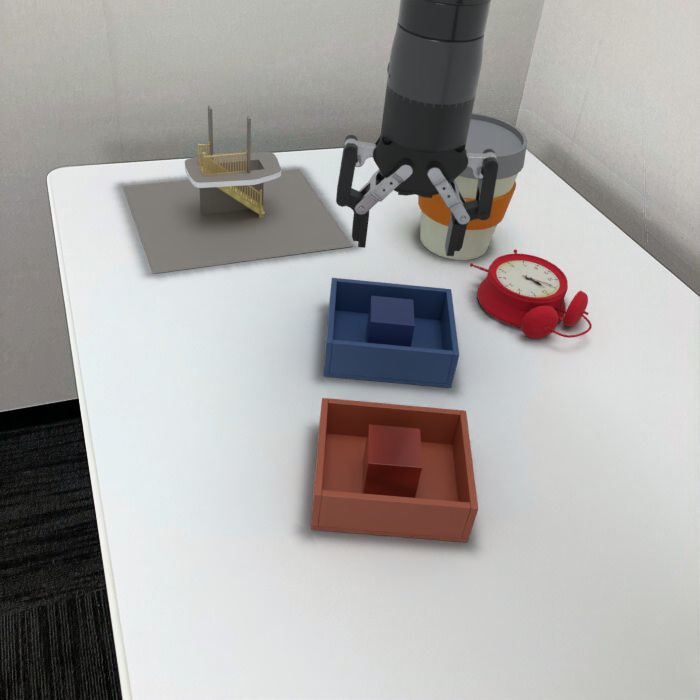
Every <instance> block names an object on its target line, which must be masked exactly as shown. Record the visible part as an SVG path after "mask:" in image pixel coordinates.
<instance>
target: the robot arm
mask: <svg viewBox="0 0 700 700" xmlns="http://www.w3.org/2000/svg"><path fill="white" fill-rule="evenodd" d="M491 4H492V0H399V7H398V16H397V23H396V28H395V32H394V37H393V40H392V45H391V50H390V55H389V61H388V64H387V69H386V70H387V79H386V87H385V95H384V102H383V103H384V104H383V112H382V118H381V128H380V135H379V137H378V139H377V140H376V142H375V143H373V142H366V141H361V140H359V139H358V137H357V136H356V135H354V134H349V135H347V136H345V138H344V141H343V149H342V154H341V160H340V167H339V173H338V174H339V175H338V180H337V188H336V197H335V203H336V204H337V205H338V206H339V207H341V208H344V207H348V208H349V209H350V210H352V211H353V216H352V228H351V239H352V241H353V242H357V248H366V245H367V238H368V237H367V236H368V229H369V220H370V210H371V209H373V207H374V206H376V204H377V203H379V202H383V200H385V199H386V198H387V197H388V196H389V195H390V194H391V193H392V192H393V191H394V192H395V193H397V195H398V196H406V197H407V196H414V195H416V196H418V195H419V196H422V197H426V198H432V196H434V195H437V194H440V196H441V197H442V199H443V201H444V202H445V204H446V206H447V207H448V208H449V209H450V210H451V217H450V222H449V227H448V232H447V237H446V242H445V252H446V256H454V252H455V251H460V250H461V248H462V246H463V241H464V237H465V232H466V227H467V224H468V223H469V222H470V221H471V220H474V219H480V220H487V219H488V218H489V217H490V215H491V209H492V203H493V197H494V191H495V184H496V178H497V172H498V162H497V158H496V155H495V152H494V150H492V149H486V150H484V151H483V153H467V152H466V149H465V147H466V141H467V136H468V131H469V126H470V121H471V116H472V113H473V110H474V106H475V100H476V95H477V90H478V86H479V82H480V81H479V79H480V75H481V70H482V63H483V56H484V55H483V54H484V40H485V32H486V28H487V23H488V19H489V18H488V17H489V13H490V7H491ZM370 158H372V159H373V161H374V163H375V165H376V166H377V168H378V169H377V170H376V171H375V172H374V173H373V174H372V175H371V177H370V178H369V180H368V181H367V182H366V183H365V184H364V185H363V186H362V187H361V188H360V189H359V190H357V189H355V188H353V181H354V176H355V170H356V168H361V167H362V166H364V165H365V162H366V161H367V160H368V159H370ZM467 167H470V168H472V170H473V175H474V177H475V178H477V179H478V184H477V191H476V198H475V200H473V201H468V202H466V200H465V199H464V197H463V195H462V194H461V192H460V190H459V188H458V186H457V183H456V182H455V179H456V178H457V177H458V176H459V175H460V174H461V173H462V172H463V171H464V170H465V169H466V168H467Z"/></svg>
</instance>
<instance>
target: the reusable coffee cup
mask: <svg viewBox="0 0 700 700" xmlns="http://www.w3.org/2000/svg"><path fill="white" fill-rule="evenodd" d="M527 146H528V139H527V136H526V135H525V133H524V132H523V131H522V130H521V129H520V128H519V127H517V126H515V125H514V124H513V123H511V122H508V121H506V120H504V119H501V118H498V117H496V116H492V115H488V114H483V113H479V112H472V116H471V121H470V126H469V131H468V136H467V141H466V147H465V149H466V152H467V153H483V151H484V150H486V149H492V150H494V152H495V155H496V158H497V162H498V172H497V178H496V184H495V191H494V197H493V203H492V209H491V215H490V217H489V218H488V219H487V220H480V219H474V220H471V221H470V222H469V223H468V224H467V227H466V232H465V237H464V241H463V246H462V248H461V250H460V251H455V252H454V256H446V252H445V242H446V237H447V232H448V227H449V222H450V217H451V210H450V209H449V208H448V207H447V206H446V204H445V202H444V201H443V199H442V197H441V196H440V194H437V195H434V196H432V198H426V197H422V196H419V195H417V201H418V202H417V205H418V206H419V209H420V230H419V240H420V242H421V244H422V245H423V246H424V247H425V248H426V249H427V251H429V252H431V253H432V254H434V255H436V256H439V257H442V258H445V259H449V260H456V261H469V260H473V259H477V258H480V257H482V256H483V255H484V254H485V253H486V252H487V250H488V248H489V246H490V243H491V241H492V239H493V237H494V234H495V231H496V228H497V226H498V225H499V224H500V223H501V222H502V221H503V219H504V218H505V216H506V212H507V211H508V208H509V205H510V203H511V201H512V198H513V196H514V193H515V191H516V188H517V182H516V179H517V177H518V174H519V173H521V172H522V170H523V169H524V165H525V159H526V153H527V148H528V147H527ZM455 182H456V183H457V186H458V188H459V190H460V192H461V194H462V195H463V197H464V199H465V200H466V202H468V201H473V200H475V198H476V191H477V184H478V179H477V178H475V177H474V175H473V170H472V168H470V167H467V168H466V169H465V170H464V171H463V172H462V173H461V174H460V175H459V176H458V177H457V178H456V179H455Z"/></svg>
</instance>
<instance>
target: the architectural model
mask: <svg viewBox="0 0 700 700" xmlns="http://www.w3.org/2000/svg"><path fill="white" fill-rule="evenodd" d="M213 119H214V117H213V108H212V106H211V105H207V129H208V131H207V133H208V136H207V137H208V143H205V144H204V143H203V144H201V143H197V150H198V153H197V154H198V155H195V156H193V157H190V158H187V159H185V160H184V171H185V174H186V176H187V178H188V179H180V180H171V181H162V182H160V181H159V182H151V183H141V184H130V185H123V186H122V188H123V191H124V194H125V196H126V200H127V202H128V205H129V209H130V212H131V214H132V217H133V220H134V223H135V225H136V228H137V232H138V235H139V236H140V241H141V244H142V245H143V250H144V252H145V255H146V258H147V260H148V263H149V266H150V269H151V272H152V274H153V275H155V274H162V273H168V272H177V271H183V270H190V269H198V268H205V267H212V266H213V267H214V266H221V265H227V264H228V265H229V264H234V263H241V262H248V261H250V262H251V261H256V260H264V259H271V258H277V257H285V256H287V257H288V256H293V255H294V256H295V255H300V254H301V255H302V254H307V253H315V252H316V253H317V252H322V251H329V250H337V249H345V248H352V247H353V245H352V243H351V242H350V239H348V236H347V235H346V234H345V233H344V231H343V230H342V228H341V227H340V225H339V224H338V223H337V221H336V220H335V218H334V217H333V216H332V214H331V212H330V211H329V210H328V208H327V206H326V205H325V204H324V202H323V201H322V199H321V198H320V196H319V195H318V193H317V192H316V191H315V189H314V188H313V187H312V184H310V182H309V181H308V180H307V178H306V176H305V175H304V174H303V172H302V170H301V169H300V168H294V169H286V170H285V169H284V170H282V168H281V164H280V162H279V160H278V157H277V155H275V153H273V152H272V151H259V152H258V151H253V152H251V147H252V146H251V141H252V136H251V135H252V118H251V117H250V116H246V149H245V152H221V153H220V152H218V153H217V152H216V153H214V126H213V125H214V124H213V123H214V121H213Z"/></svg>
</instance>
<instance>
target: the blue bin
mask: <svg viewBox="0 0 700 700" xmlns="http://www.w3.org/2000/svg"><path fill="white" fill-rule="evenodd" d="M329 291H330V292H329V302H328V311H327V325H326V335H325V336H326V337H325V338H326V339H325V347H324V349H325V350H324V361H323V373H322V376H323V377H326V378H327V377H329V378H338V379H339V378H340V379H349V380H361V381H370V382H371V381H372V382H383V383H394V384H403V385H404V384H405V385H406V384H407V385H415V386H427V387H438V388H449V389H451V388H452V386H453V382H454V378H455V375H456V370H457V366H458V362H459V357H460V349H459V342H458V341H459V340H458V333H457V324H456V316H455V308H454V307H455V306H454V300H453V299H454V298H453V293H452V289H451V288H443V287H434V286H433V287H432V286H422V285H412V284H403V283H391V282H383V281H382V282H381V281H371V280H362V279H350V278H340V277H331V282H330V290H329ZM371 296H380V297H391V298H401V299H412V300H413V304H414V321H415V327H414V332H413V338H412V343H411V347H407V346H396V345H385V344H375V343H366V330H367V322H368V314H369V307H370V300H371Z"/></svg>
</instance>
